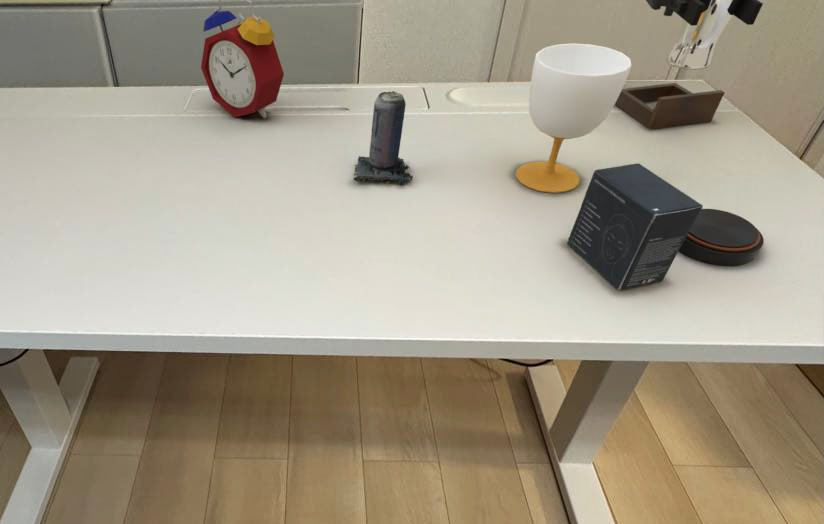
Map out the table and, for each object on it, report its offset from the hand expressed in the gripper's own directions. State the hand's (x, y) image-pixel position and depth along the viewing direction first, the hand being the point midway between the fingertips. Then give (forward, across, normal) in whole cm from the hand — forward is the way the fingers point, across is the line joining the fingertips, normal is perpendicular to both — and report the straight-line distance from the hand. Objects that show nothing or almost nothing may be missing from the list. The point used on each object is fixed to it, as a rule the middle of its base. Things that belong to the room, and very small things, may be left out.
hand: (726, 14), depth 84 cm
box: (+35, +19, -18) cm, 44 cm away
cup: (+15, +23, -18) cm, 33 cm away
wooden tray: (-8, -1, -18) cm, 20 cm away
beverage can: (+14, +48, -18) cm, 53 cm away
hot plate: (+31, +6, -18) cm, 36 cm away
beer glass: (-5, 0, -8) cm, 10 cm away
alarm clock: (-10, +72, -18) cm, 75 cm away
